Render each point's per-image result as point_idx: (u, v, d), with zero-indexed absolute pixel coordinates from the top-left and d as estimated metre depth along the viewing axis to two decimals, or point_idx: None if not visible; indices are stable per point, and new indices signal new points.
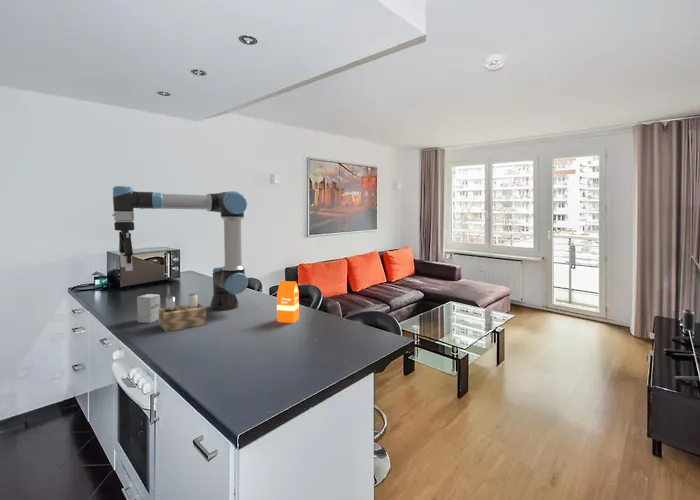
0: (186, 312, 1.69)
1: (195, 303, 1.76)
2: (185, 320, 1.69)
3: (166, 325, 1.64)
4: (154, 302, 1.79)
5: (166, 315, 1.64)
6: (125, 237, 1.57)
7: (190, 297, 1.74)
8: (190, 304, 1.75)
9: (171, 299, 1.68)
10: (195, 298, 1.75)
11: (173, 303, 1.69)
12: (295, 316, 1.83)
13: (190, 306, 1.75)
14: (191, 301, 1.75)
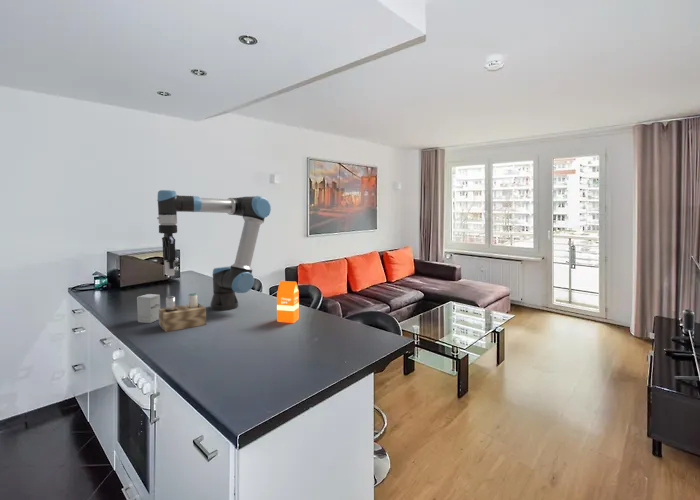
0: (186, 312, 1.69)
1: (195, 303, 1.76)
2: (185, 320, 1.69)
3: (166, 325, 1.64)
4: (154, 302, 1.79)
5: (166, 315, 1.64)
6: (170, 243, 1.62)
7: (190, 297, 1.74)
8: (190, 304, 1.75)
9: (171, 299, 1.68)
10: (195, 298, 1.75)
11: (173, 303, 1.69)
12: (295, 316, 1.83)
13: (190, 306, 1.75)
14: (191, 301, 1.75)
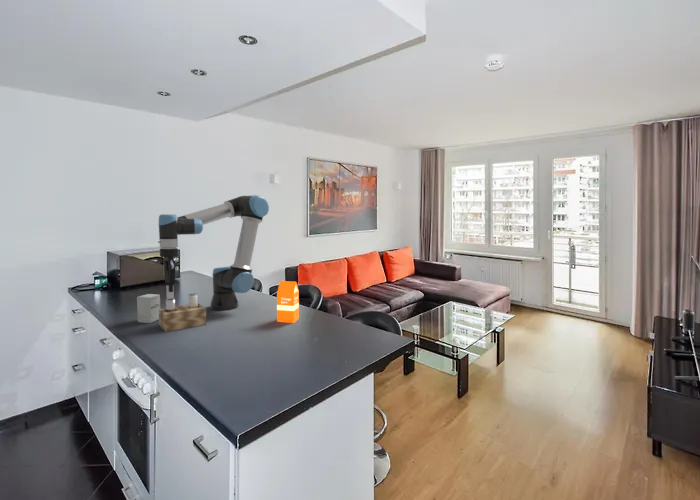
0: (186, 312, 1.69)
1: (195, 303, 1.76)
2: (185, 320, 1.69)
3: (166, 325, 1.64)
4: (154, 302, 1.79)
5: (166, 315, 1.64)
6: (170, 269, 1.64)
7: (190, 297, 1.74)
8: (190, 304, 1.75)
9: (171, 301, 1.69)
10: (195, 298, 1.75)
11: (173, 305, 1.69)
12: (295, 316, 1.83)
13: (190, 306, 1.75)
14: (191, 301, 1.75)
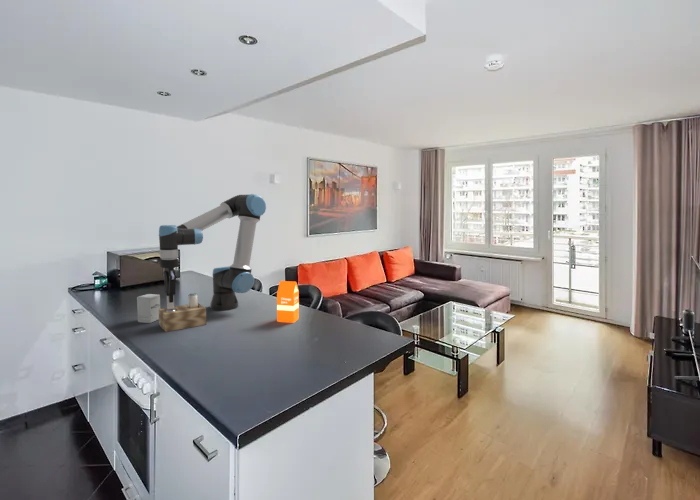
0: (186, 312, 1.69)
1: (195, 303, 1.76)
2: (185, 320, 1.69)
3: (166, 325, 1.64)
4: (154, 302, 1.79)
5: (166, 315, 1.64)
6: (171, 279, 1.64)
7: (190, 297, 1.74)
8: (190, 304, 1.75)
9: None
10: (195, 298, 1.75)
11: None
12: (295, 316, 1.83)
13: (190, 306, 1.75)
14: (191, 301, 1.75)
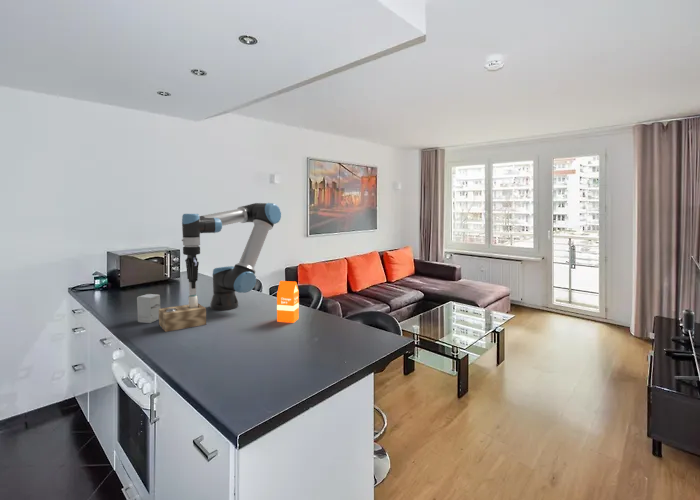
0: (186, 312, 1.69)
1: (195, 304, 1.76)
2: (185, 320, 1.69)
3: (166, 325, 1.64)
4: (154, 302, 1.79)
5: (166, 315, 1.64)
6: (193, 266, 1.70)
7: (190, 298, 1.75)
8: (190, 305, 1.75)
9: None
10: (195, 299, 1.75)
11: None
12: (295, 316, 1.83)
13: (190, 307, 1.75)
14: (191, 302, 1.75)
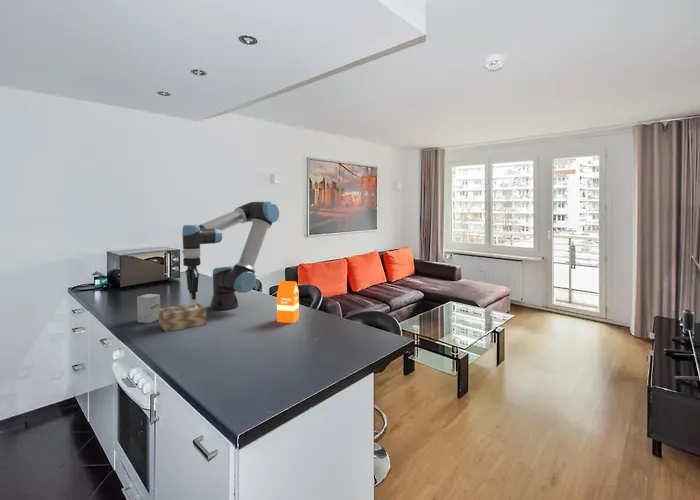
0: (186, 312, 1.69)
1: None
2: (185, 320, 1.69)
3: (166, 325, 1.64)
4: (154, 302, 1.79)
5: (166, 315, 1.64)
6: (194, 277, 1.71)
7: None
8: None
9: None
10: None
11: None
12: (295, 316, 1.83)
13: None
14: None
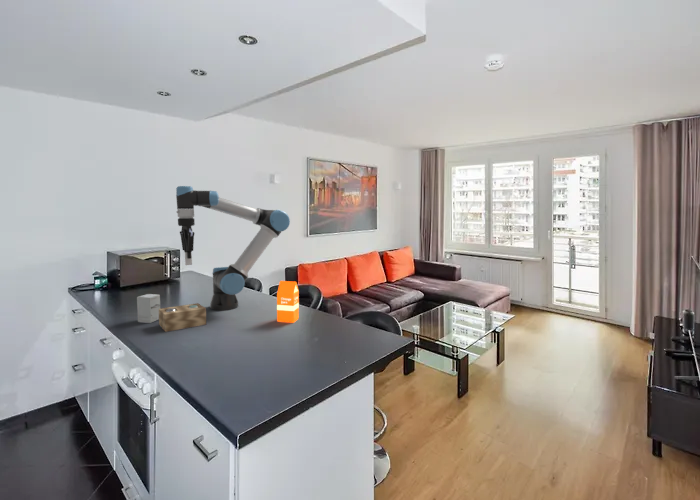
0: (186, 312, 1.69)
1: None
2: (185, 320, 1.69)
3: (166, 325, 1.64)
4: (154, 302, 1.79)
5: (166, 315, 1.64)
6: (189, 236, 1.77)
7: None
8: None
9: None
10: None
11: None
12: (295, 316, 1.83)
13: None
14: None
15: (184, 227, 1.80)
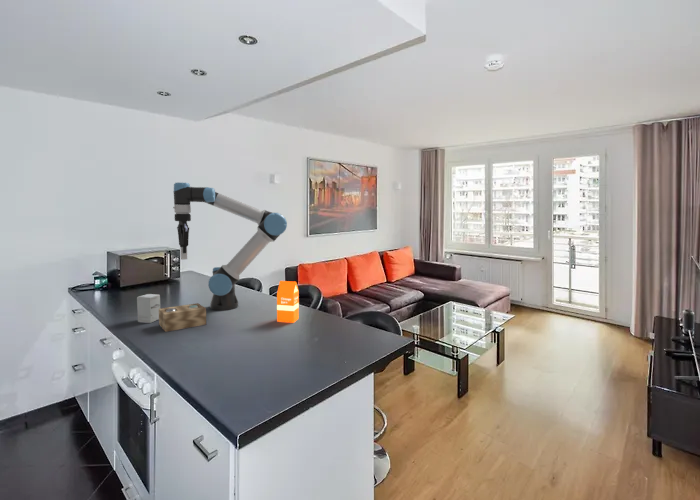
0: (186, 312, 1.69)
1: None
2: (185, 320, 1.69)
3: (166, 325, 1.64)
4: (154, 302, 1.79)
5: (166, 315, 1.64)
6: (184, 231, 1.82)
7: None
8: None
9: None
10: None
11: None
12: (295, 316, 1.83)
13: None
14: None
15: (180, 222, 1.86)
